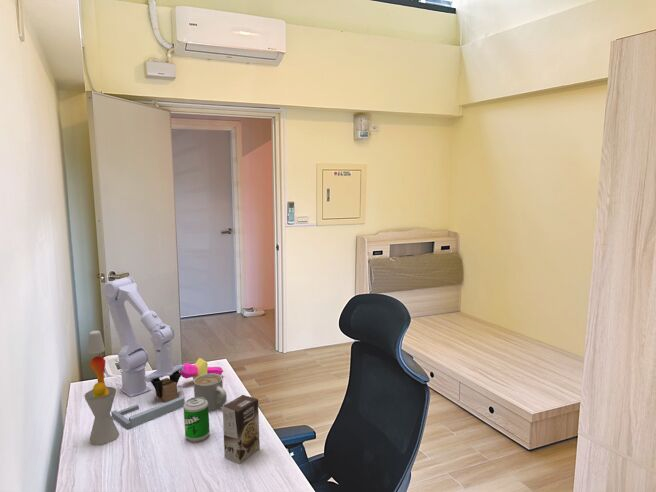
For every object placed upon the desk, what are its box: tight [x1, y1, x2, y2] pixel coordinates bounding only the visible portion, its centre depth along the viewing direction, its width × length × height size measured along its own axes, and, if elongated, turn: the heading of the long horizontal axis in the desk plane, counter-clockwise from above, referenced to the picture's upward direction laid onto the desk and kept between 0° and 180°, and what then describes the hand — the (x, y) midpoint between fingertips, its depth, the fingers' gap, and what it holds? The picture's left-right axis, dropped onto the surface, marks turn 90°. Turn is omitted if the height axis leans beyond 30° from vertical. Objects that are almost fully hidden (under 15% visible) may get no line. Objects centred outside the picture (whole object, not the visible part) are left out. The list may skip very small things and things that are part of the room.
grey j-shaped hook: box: [110, 396, 186, 430], centre depth 167 cm, size 12×21×3 cm, turn 137°
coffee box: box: [222, 394, 261, 464], centre depth 140 cm, size 9×6×16 cm
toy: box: [179, 357, 224, 381], centre depth 190 cm, size 10×18×10 cm, turn 128°
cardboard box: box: [155, 377, 179, 403], centre depth 177 cm, size 7×5×7 cm
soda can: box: [182, 397, 211, 443], centre depth 150 cm, size 8×8×12 cm
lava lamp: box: [83, 330, 120, 446], centre depth 148 cm, size 9×9×35 cm
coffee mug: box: [193, 374, 227, 413], centre depth 169 cm, size 13×10×10 cm
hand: (166, 394), depth 177 cm, fingers closed on cardboard box, 5 cm apart
